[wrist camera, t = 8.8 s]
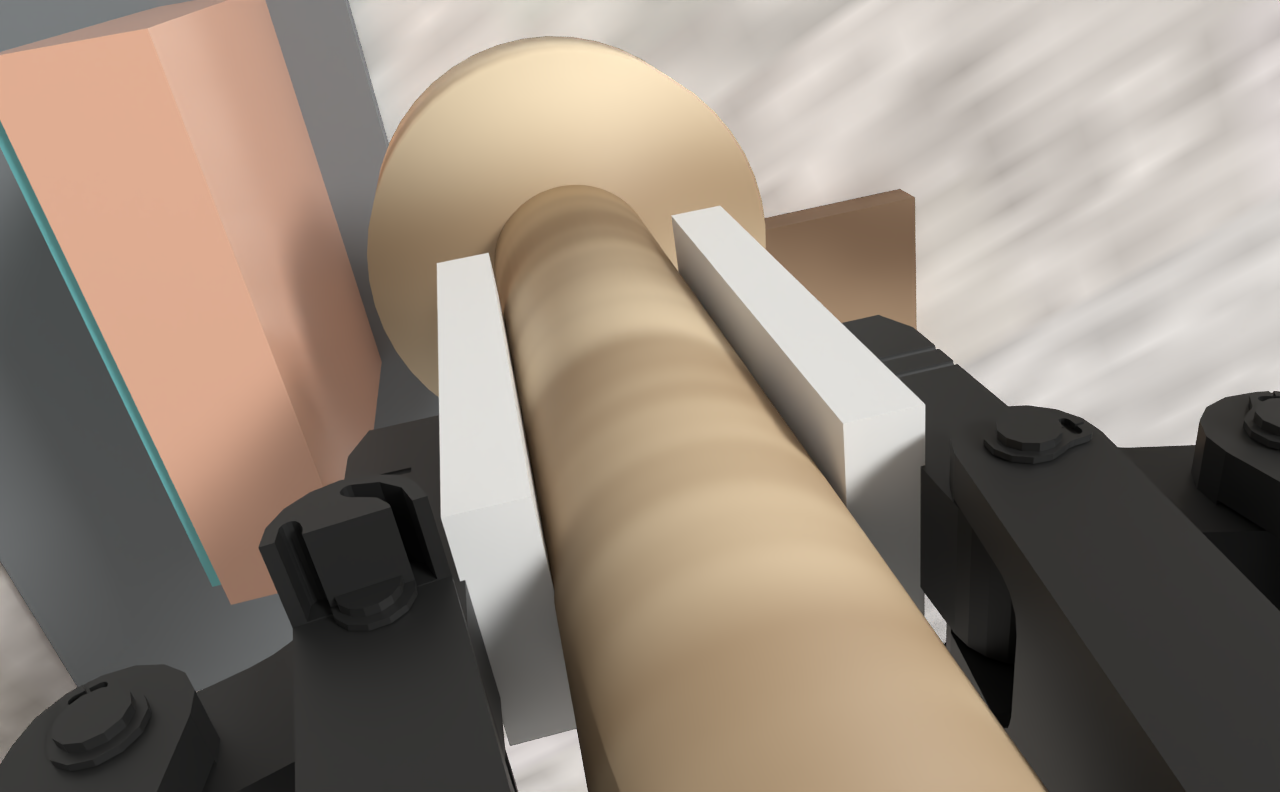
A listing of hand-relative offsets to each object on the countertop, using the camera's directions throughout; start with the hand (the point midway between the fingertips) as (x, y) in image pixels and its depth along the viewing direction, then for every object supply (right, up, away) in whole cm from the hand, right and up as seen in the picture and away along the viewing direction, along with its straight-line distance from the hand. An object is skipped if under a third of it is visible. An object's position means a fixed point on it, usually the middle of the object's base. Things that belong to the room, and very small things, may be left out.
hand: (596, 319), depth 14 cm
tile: (-9, +4, +10) cm, 14 cm away
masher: (-1, +2, +4) cm, 5 cm away
